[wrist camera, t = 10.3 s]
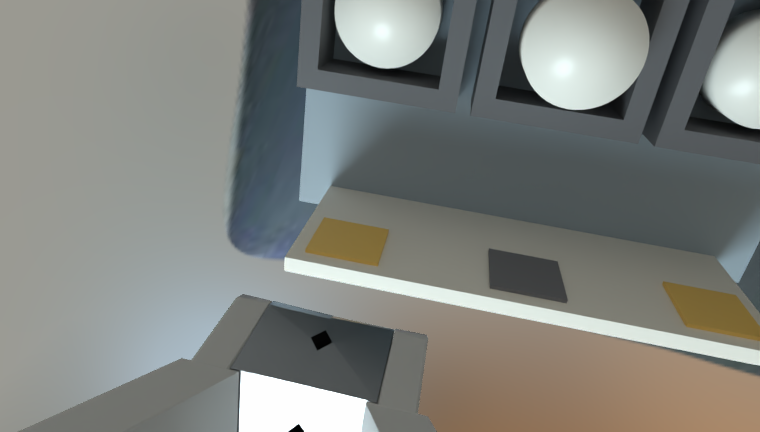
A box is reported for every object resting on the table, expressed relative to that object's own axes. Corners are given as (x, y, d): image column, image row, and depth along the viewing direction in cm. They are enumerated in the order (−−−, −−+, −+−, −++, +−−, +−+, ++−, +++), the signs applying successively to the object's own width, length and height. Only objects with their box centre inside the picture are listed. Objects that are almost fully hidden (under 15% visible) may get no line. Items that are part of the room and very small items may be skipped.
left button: (451, -38, 21) (449, -38, 19) (434, 66, 23) (430, 76, 21) (351, -52, 21) (339, -53, 20) (341, 51, 23) (330, 59, 21)
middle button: (649, -9, 19) (668, -5, 17) (612, 104, 21) (626, 118, 19) (533, -25, 19) (540, -24, 17) (507, 87, 21) (510, 99, 19)
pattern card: (715, 253, 25) (796, 354, 18) (709, 267, 25) (786, 370, 19) (330, 182, 26) (284, 253, 20) (329, 196, 27) (284, 270, 20)
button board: (854, -52, 21) (969, -55, 16) (713, 251, 28) (765, 315, 23) (339, -121, 23) (301, -141, 18) (315, 178, 30) (282, 223, 25)
